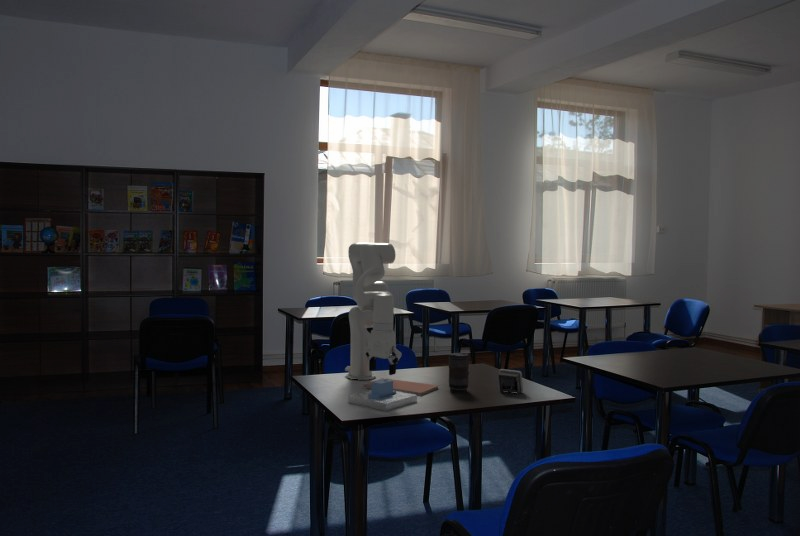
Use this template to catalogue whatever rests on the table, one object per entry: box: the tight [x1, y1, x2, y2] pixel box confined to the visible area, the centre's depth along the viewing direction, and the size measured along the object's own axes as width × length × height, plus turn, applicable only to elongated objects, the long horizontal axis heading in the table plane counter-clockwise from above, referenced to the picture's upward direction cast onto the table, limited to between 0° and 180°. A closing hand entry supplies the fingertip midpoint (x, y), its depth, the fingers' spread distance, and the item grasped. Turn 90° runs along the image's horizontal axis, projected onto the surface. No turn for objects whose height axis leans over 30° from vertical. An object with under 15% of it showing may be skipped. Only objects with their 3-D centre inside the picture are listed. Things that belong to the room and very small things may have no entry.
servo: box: [368, 377, 396, 398], centre depth 239 cm, size 11×4×8 cm, turn 141°
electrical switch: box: [498, 368, 524, 394], centre depth 256 cm, size 9×5×9 cm, turn 59°
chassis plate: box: [347, 389, 418, 412], centre depth 237 cm, size 18×18×2 cm
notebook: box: [362, 377, 440, 397], centre depth 261 cm, size 27×17×2 cm, turn 60°
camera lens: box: [448, 352, 470, 394], centre depth 257 cm, size 8×8×15 cm
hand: (382, 372), depth 239 cm, fingers open, 9 cm apart
